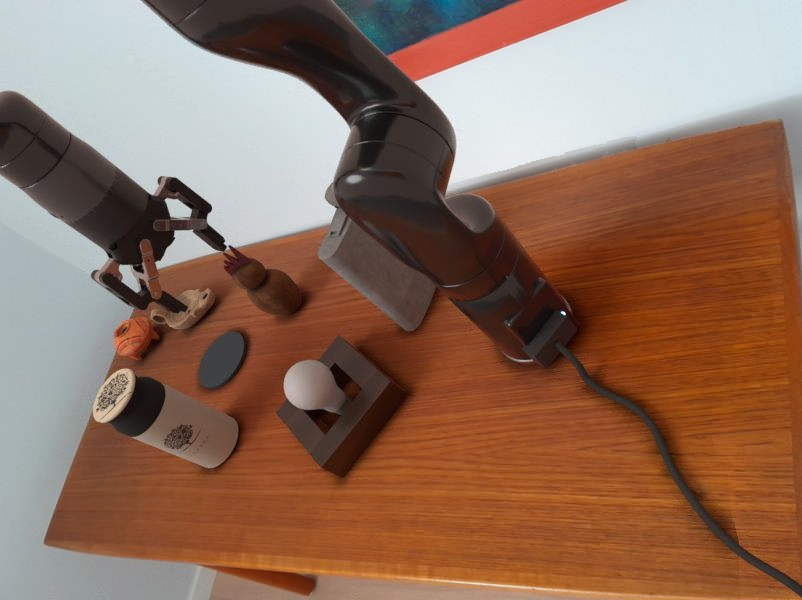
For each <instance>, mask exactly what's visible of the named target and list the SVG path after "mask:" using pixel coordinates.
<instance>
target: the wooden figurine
mask: <svg viewBox="0 0 802 600" xmlns="http://www.w3.org/2000/svg"><path fill="white" fill-rule="evenodd" d="M227 248H228V249H229V250H230V251H231V252H232V254H233V255H234V256H233V255H231V254H229V253H226V252H225V251H224V252H222V255H223V256H224V257H225V258H226V259H223V263H224V264H225V265H223V269H224V270H225V271H226V273H228V274H229V276H230V277H231V280H232V281H233V282H234V284H235V285H236V286H237V287H238V288H240V289H242V290H244V291H246V296H247V298H249V301H250V302H251V303H252V304H253V305H254V306H255V307H256V308H257V309H258V310H260V311H261V312H264V313H266V314H269V315H274V316H277V317H286V316H290V315H292V314H294V313H295V312H296V311H297V310H298V309H299V308H300V307H301V305H302V301H303V295H302V291H301V289H300V287H299V286H298V284H297V283H296V282H295V281H294V279H293V278H292V277H291V276H290V275H289V274H287V273H286V272H284V271H283V270H281V269H277V268H266V267H265V266H264V264H263V263H262V262H260V261H259V260H258V259H256V258H253V257H248V256H246V255H245V254H243V253H242V252H241V251H239V250H238V249H237V248H235V247H234V246H232V245H231V244H228V245H227Z"/></svg>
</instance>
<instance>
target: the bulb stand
mask: <svg viewBox="0 0 802 600" xmlns="http://www.w3.org/2000/svg"><path fill="white" fill-rule="evenodd" d="M317 361H319V362H321V363H323V364H324V365H326V366H327V367H328V368H329V369H330V371H331V372H332V374H333V377H334V379H335V382H336V385H337V386H338V387H339V388H340V389H341V390H342V391H343V389H344V388H345V386H347V384H348V383H349V382H350V380H353V382H355V384H357V385H358V387H360V388H361V390H360V392H359V393H358V394H357V395H356V396H355V397H354V399H352V400H353V401H352V403H351V404H350V405H349V406H348V408H347V409H346V410H345V411H344V413H343V414H342V415H339V417H338V419H336V420H335V422H334V424H333V425H332V426H331V427H329V426H328V424H326V423H325V421H324V420H323V419H322V418H321V416H322V415H323V414H324V413H325V411H326V410H324V409H315V410H304V409H300V408H298V407H296V406H294V405H293V404H292V403H291V402H290V401H289V400H288V398H287V397H286V399H285V400H284V401H283V402H282V403H281V405H280V406H279V407H278V409H277V410H276V411H275V414H276V415H277V416H278V417H279V419H280V420H281V421H282V422H283V423H284V425H285V426H286V427H287V428H288V429H289V431H290V432H291V433H292V434H293V436H294V437H295V439H297V441H298V442H299V443H300V444H301V446H302V447H303V448H304V449H305V450H306V451H307V453H308V454H309V455H310V456H311V458H312V459H313V460H314V461H315V463H316V464H317V465H318V466H319V468H321V469H323V470H325V471H327V472H329V473H330V474H333V475H334V476H337V477H339V478H341V479H343V478H344V476H345V475H346V474H347V473H348V472H349V470H350V469H351V468H352V466H353V465H354V464H355V462H357V460H358V459H359V458H360V456H361V455H362V454H363V453H364V451H365V450H366V448H368V446H369V445H370V444H371V443H372V442H373V440H374V439H375V437H376V436H377V435H378V434H379V433H380V431H381V430H382V429H383V427H385V425H386V424H387V422H389V420H390V419H391V417H392V416H393V415H394V413H395V412H396V411H397V410H398V409H399V407H400V406H402V403H404V401H405V400H406V399H407V397H408V396H410V395H409V393H408V392H407V391H406V390H405V389H404V388H402V386H400V385H399V384H398V383H397V382H396V381H394V379H393V378H391V377H390V376H389V375H388V374H387V373H385V372H384V371H383V370H382V369H381V368H380V367H379V366H378V365H377V364H375V363H374V362H373V361H372V360H371V359H370V358H369V357H367V356H366V355H365V354H364V353H363V352H362V351H360V349H358V348H357V347H356V346H354V345H353V344H351V343H350V341H348V340H346V339H344V337H342V336H341V335H340V334H338V335H337V336H336V337H335V338H334V340H333V341H332V342H331V343H330V345H329V346H328V347H327V348H326V350H325V351H324V352H323V353H322V355H321V356H320V357H319V358H318V359H317Z"/></svg>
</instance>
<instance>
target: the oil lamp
mask: <svg viewBox="0 0 802 600" xmlns="http://www.w3.org/2000/svg"><path fill="white" fill-rule="evenodd" d="M175 298H176V299H177V300H179V301H180V302H182V303H183V304H184V305H186V306H187V307H188V309H187V310H186V312H185V313H184V312H181V311H180V312H179V314H177V313H173V312H170V311H167V310H165V309H164V308H154V309H152V310H151V311H150V319H151V321H152V322H154V323H156V324H159V325H166V324H167V325H168V327H170V328H172V329H175V330H186V329H189V328H191V327H193V326H194V325H195V324H196V323H198V322H199V321H200V320H201V319H202V318H203V317H204V316H205V314H207V313H208V311H210V309H211V308H212V307H213V306H214V304H215V301H216V297H215V294H214V292H213V291H212V289H210V288H209V287H206V289H205V290H204V291H202V290H201V288H199V287H198V288H196V289H187V290H185V291H183V292H181V293H180V294H179V295H177V297H175Z"/></svg>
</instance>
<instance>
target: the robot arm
mask: <svg viewBox="0 0 802 600" xmlns="http://www.w3.org/2000/svg"><path fill="white" fill-rule="evenodd" d="M139 1H140V2H142V4H143V5H145V6H146V7H147V8H148V9H149V10H150V11H151V12H153V14H155V15H156V16H157V17H158V18H159V19H160V20H161V21H163V22H164V23H165V24H166V25H167V26H168V27H169V28H170V29H172V30H173V31H174V32H176V34H177V35H179V36H180V37H181V38H183V40H185V41H187V42H188V43H189V44H191V45H192V46H194V47H196V48H198V49H200V50H202V51H204V52H207V53H209V54H212V55H214V56H217V57H220V58H223V59H227V60H230V61H233V62H236V63H241V64H244V65H249V66H253V67H257V68H262V69H266V70H270V71H274V72H277V73H281V74H284V75H287V76H290V77H292V78H295V79H296V80H298V81H300V82H302V83H304V84H305V85H306V86H308V87H309V88H310V89H312V90H313V91H314V92H316V93H317V94H318V95H319V96H320V97H321V98H322V99H323V100H324V101H325V102H327V103H328V105H330V106H331V107H332V108H333V109H334V111H335V112H337V114H339V116H340V117H341V118H342V119H343V120H344V122H345V123H346V125H347V126H348V128H349V130H350V131H349V134H348V136H347V139H346V142H345V144H344V147H343V150H342V153H341V155H340V159H339V160H338V164H337V166H336V170H335V173H334V176H333V180H332V182H333V184H332V187H333V194H334V197H335V199H336V201H337V203H338V205H339V206H340V208H341V209H342V210H343V212H344V213H345V214H346V215H347V216H348V217H349V218H350V219H351V220H352V221H353V222H354V223H355V224H356V225H357V226H358V227H360V228H361V229H362V230H363V231H364V232H366V233H367V234H368V235H369V236H370V237H372V238H373V239H374V240H375V241H376V242H378V243H379V244H380V245H381V246H382V247H384V248H385V249H386V250H387V251H388V252H390V253H391V254H392V255H393V256H394V257H395V258H396V259H398V260H399V261H400V262H402V263H403V264H405V265H406V266H408V267H410V268H412V269H414V270H416V271H418V272H420V273H421V274H423V275H425V276H426V277H427V278H428V279H429V280H430V281H431V282H432V283H433V284H434V285H435V286H436V288H437V289H438V290H439V291H440V292H441V294H443V295H444V296H445V297H446V298H447V299H448V300H449V301H450V302H451V303H452V304H453V305H454V306H455V307H456V308H457V309H458V310H459V311H460V312H461V313H462V314H463V315H464V316H465V317H467V319H468V320H469V321H470V322H472V324H474V325H475V326H476V327H477V328H478V329H479V331H481V332H482V333H483V335H485V336H486V337H487V338H488V339H489V340H490V342H492V343H493V344H494V345H495V346H496V347H497V348H498V349H499V350H500V352H501V353H502V354H503V355H504V356H505V357H506V358H507V359H508V360H510V361H512V362H513V363H514V364H519V365H523V366H532V365H534V366H535V365H539V366H540V367H542V368H544V369H545V370H548V369H549V367H550V366H551V365H552V363H553V362H554V361H555V359H557V357H558V356H559V355H560V353H561V354H562V355H563V356H564V357H565V358H566V359H567V360H568V361H569V362H570V363H571V364H572V365H573V367H574V368H575V369H576V371H577V372H578V374H579V376H580V378H581V379H582V380H583V382H584V383H585V384H586V385H587V386H588V387H590V388H591V389H592V390H593V391H595V392H596V393H598V394H599V395H601V396H603V397H604V398H606V399H608V400H611V401H613V402H615V403H618V404H620V405H622V406H624V407H626V408H628V409H629V410H631V411H632V412H633V413H635V414H636V415H637V416H638V417H639V418H640V419H641V420H642V421H643V422H644V423H645V425H646V426H647V427H648V429H649V431H650V433H651V434H652V436H653V438H654V441H655V443H656V445H657V448H658V449H659V453H660V456H661V457H662V460H663V462H664V464H665V467H666V468H667V471H668V472H669V474H670V476H671V478H672V479H673V481H674V482H675V484H676V485H677V487H678V489H679V490H680V492H682V494H683V496H684V498H685V499H686V500H687V502H688V503H689V504H690V506H691V508H692V509H693V510H694V511H695V513H696V514H697V515H698V517H699V518H700V519H701V520H702V521H703V523H704V524H705V525H706V526H707V527H708V529H709V530H710V531H711V532H712V533H713V534H714V535H715V536H716V537H717V538H718V539H719V540H720V541H721V542H722V543H723V544H724V545H726V546H727V548H729V549H730V550H731V551H732V552H733V553H734V554H736V555H737V557H739V558H741V560H743V561H744V562H746V563H747V564H748V565H751V566H752V567H754V568H755V569H757V570H759V571H760V572H762V573H764V574H766V575H767V576H769V577H771V578H772V579H774V580H776V581H778V583H781V584H782V585H784V586H786V588H788V589H789V590H791V591H792V592H794V594H796V595H797V596H799V597H800V598H801V599H802V584H800V583H799V582H798V581H797V580H795V579H794V578H792V577H791V576H789V575H788V574H786V573H784V572H783V571H781V570H779V569H777V568H776V567H774V566H772V565H771V564H769V563H768V562H766V561H764V560H762V559H760V558H759V557H757V556H756V555H754V554H752V553H751V552H749V551H748V550H747V549H745V548H744V547H743V546H742V545H740V544H739V543H738V542H737V541H735V539H734V538H732V537H731V535H729V533H727V531H725V530H724V529H723V528H722V527H721V526H720V525H719V523H717V522H716V521H715V519H713V517H712V516H711V515H710V514H709V512H708V511H707V510H706V509H705V507H704V506H703V505H702V503H701V502H700V500H698V498H697V497H696V495H695V494H694V492H693V491H692V490H691V488H690V487H689V485H688V484H687V482H686V481H685V480H684V478H683V477H682V475H681V473H680V471H679V469H678V468H677V466H676V464H675V463H674V460H673V458H672V455H671V453H670V451H669V448H668V446H667V444H666V441H665V439H664V437H663V435H662V432H661V431H660V429H659V427H658V425H657V424H656V423H655V421H654V420H653V418H652V417H651V416H650V414H649V413H647V412H646V411H645V410H644V408H642V407H641V406H639V404H637V403H635V402H634V401H633V400H630V399H628V398H626V397H625V396H621V395H619V394H617V393H616V392H615V393H614V392H612V391H610V390H608V389H606V388H605V387H603V386H602V385H600V384H599V383H597V382H596V381H595V380H594V379H593V378H592V377H591V376H590V375H589V374H588V372H587V370H586V369H585V367H584V365H583V364H582V362H581V361H580V360H579V359H578V358H577V357H576V355H574V354H573V353H572V352H571V350H570V349H568V347H566V346H567V344H568V343H569V342H570V341H571V339H573V337H574V335H575V334H576V333H577V332H578V329H579V327H580V326H581V323H580V321H578V319H577V318H576V317H575V316H574V311H573V309H572V306H571V305H570V304H569V302H568V301H567V300H566V298H565V297H564V296H563V295H562V294H561V293H560V292H559V290H558V289H557V288H556V286H555V285H554V284H553V283H552V282H551V280H550V279H549V277H547V275H546V274H545V273H544V271H543V270H542V269H541V268H540V266H539V265H538V264H537V263H536V261H535V259H533V257H532V255H530V253H529V252H528V251H527V250H526V248H525V247H524V245H522V243H521V242H520V241H519V239H518V238H517V237H516V235H515V234H514V232H513V231H512V230H511V229H510V228H509V226H508V225H507V223H506V222H505V220H504V219H503V218H502V217H501V216H500V214H499V213H498V212H497V210H496V209H495V208H494V207H493V205H492V204H491V203H490V202H489V201H488V200H487V199H486V198H484V197H483V196H480V195H478V194H474V193H467V192H466V193H465V192H464V193H457V194H453V195H451V196H448V197H446V193H447V190H448V186H449V183H450V179H451V175H452V171H453V169H454V164H455V161H456V154H457V135H456V132H455V129H454V127H453V125H452V123H451V121H450V119H449V118H448V116H447V115H446V114H445V112H444V111H443V109H442V108H441V107H440V106H439V105H438V104H437V103H436V102H435V101H434V99H432V97H430V95H428V93H426V91H424V89H422V87H420V86H419V85H418V84H417V83H416V82H415V81H414V80H413V79H412V78H411V77H410V76H409V75H408V74H406V73H405V72H404V70H402V69H401V68H400V67H399V66H398V65H397V64H395V62H393V60H392V59H391V58H390V57H388V56H387V55H386V54H385V53H384V52H383V51H382V50H381V49H380V48H379V47H378V46H377V45H376V44H375V43H374V42H373V41H372V40H370V38H368V37H367V36H366V35H365V33H363V32H362V31H361V30H360V28H359V27H358V26H356V24H355V23H354V22H353V21H352V20H351V19H350V17H348V15H346V13H345V12H344V11H343V10H342V8H341V7H340V6H339V5H337V3H336V2H335V1H334V0H139ZM0 176H1V177H2V178H4V179H5V180H7V181H8V182H9V183H11V184H12V185H14V186H15V187H16V188H18V189H20V190H21V191H22V192H24V194H26V195H27V196H28V197H29V198H30V199H31V200H33V201H34V202H35V203H36V204H37V205H39V206H40V207H41V208H43V209H44V210H45V211H46V212H47V213H48V214H49V215H50V216H52V217H53V218H55V219H58V220H60V221H61V222H62V223H64V224H66V225H67V226H69V227H70V228H72V229H73V230H75V231H76V232H77V233H79V234H80V235H82V236H83V237H85V238H86V239H87V240H89V241H90V242H92V243H93V244H95V245H96V246H98V247H99V248H100V249H102V250H103V251H104V252H105V253H106V255H107V257H108V259H107V260H106V262H105V263H104V264H103V266H102V267H100V269H94V270H93V271H91V274H90V279H92V281H94V282H95V283H96V284H98V285H99V286H100V287H102V288H104V289H105V290H106V291H108V292H109V293H110V294H112V295H113V296H114V297H116V298H118V300H120V301H122V302H123V303H124V304H126V305H127V306H128V307H131V308H134V309H137V310H140V311H145V310H147V309H148V308H149V305H150V304H151V303H155V304H156V305H158V306H159V307H161V309H164V310H167V311H170V312H173V313H177V314H179V312H180V311H181V312H184V313H185V312H186V310H187V309H188V307H187V306H186V305H184V304H183V303H182V302H180V301H179V300H177V299H176V298H177V297H174V295H171V294H170V293H168V292H167V291H165V290H162V287H161V284H160V281H159V277H160V274H159V270H158V267H157V262H161V261H162V260H163V258H164V256H165V254H166V251H167V249H168V248H169V247H170V246H171V245H172V244H173V243H174V241H175V240H176V237H175V233H176V232H175V231H177V232H178V231H192V233H193V234H194V235H195V236H197V237H198V238H199V239H201V241H203V242H204V243H205V244H207V245H208V246H209V247H210V248H212V249H213V250H215V251H217V252H221V253H224V252H225V251H226V250H227V248H228V245H226V244H225V242H226V239H225V237H224V236H223V235H221V234H220V232H218V231H217V230H216V229H215V228H214V227H212V226H211V225H210V224H209V223H208V216H209V214H211V212H212V211H213V206H212V204H211V203H210V202H209V201H207V200H206V199H204V198H203V197H202V196H201V195H200V194H198V193H197V192H196V191H195V190H193V189H192V188H191V187H189V186H188V185H187V184H185V183H184V182H183V181H182V180H180V179H179V178H178V177H176V176H175V177H174V176H168V175H160V176H159V177H158V178H157V185H158V186H157V188H156V190H155V191H154V193H153V194H152V193H150V192H148V191H147V190H146V189H145V188H144V187H142V185H140V184H138V183H137V182H136V181H135V180H134V179H132V178H131V177H130V175H128V174H126V173H125V172H124V171H123V170H121V168H119V167H118V166H116V165H115V164H114V163H113V162H112V161H111V160H110V159H108V158H107V157H106V156H105V155H104V154H102V153H101V152H99V150H97V149H95V148H94V147H93V145H91V144H89V143H88V142H86V141H84V140H83V139H81V138H79V137H78V136H76V135H75V134H73V132H71V131H70V130H68V129H67V128H66V127H65V126H63V125H62V124H61V123H59V122H58V121H57V119H54V118H53V117H52V116H51V115H50V114H48V113H47V112H46V111H44V110H43V108H41V107H40V106H39V105H37V104H36V102H34V101H32V100H31V99H29V98H28V97H27V96H26V95H24V94H22V93H20V92H18V91H15V90H3V91H0ZM167 199H169V200H178V201H179V202H180V203H182V204H183V205H184V206H185V207H187V208H189V209H190V210H191V212H190V216H171V213H170V210H169V207H168V204H167V202H166V200H167ZM120 266H129V269H130V270H131V274H132V276H133V277H134V278H135V280H136V283H137V286H138V290H139V291H138V292H136V291H135V290H134V289H132V288H131V287H130V286H128V285H127V284H125V283H124V282H123V279H124V276H123V273H121V271H120Z"/></svg>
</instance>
